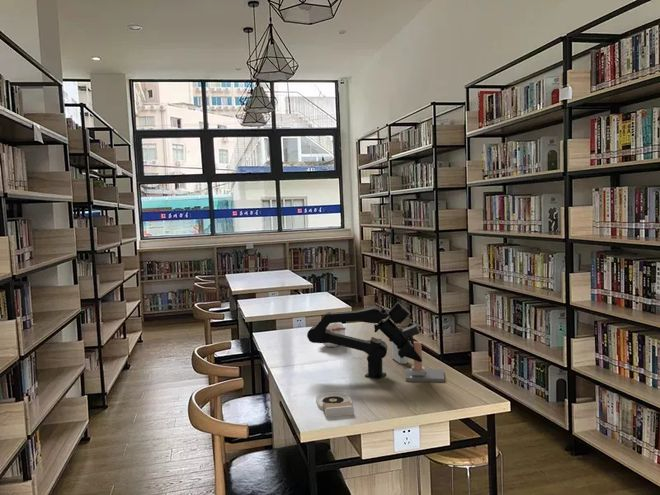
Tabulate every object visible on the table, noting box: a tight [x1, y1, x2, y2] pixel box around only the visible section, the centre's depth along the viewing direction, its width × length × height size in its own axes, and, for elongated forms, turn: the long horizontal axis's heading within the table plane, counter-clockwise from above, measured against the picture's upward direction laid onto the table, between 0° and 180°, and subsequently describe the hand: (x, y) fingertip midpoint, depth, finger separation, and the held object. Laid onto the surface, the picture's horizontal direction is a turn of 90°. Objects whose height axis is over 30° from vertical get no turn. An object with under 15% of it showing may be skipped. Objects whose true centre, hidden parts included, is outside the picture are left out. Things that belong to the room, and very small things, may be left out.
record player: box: [315, 391, 355, 418], centre depth 181 cm, size 12×3×20 cm
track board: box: [405, 368, 445, 383], centre depth 208 cm, size 14×12×1 cm
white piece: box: [321, 322, 347, 348], centre depth 259 cm, size 14×25×14 cm, turn 15°
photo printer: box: [390, 341, 409, 365], centre depth 230 cm, size 10×4×12 cm, turn 17°
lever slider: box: [411, 341, 426, 376], centre depth 208 cm, size 5×7×12 cm
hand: (421, 360), depth 208 cm, fingers closed on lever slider, 3 cm apart
